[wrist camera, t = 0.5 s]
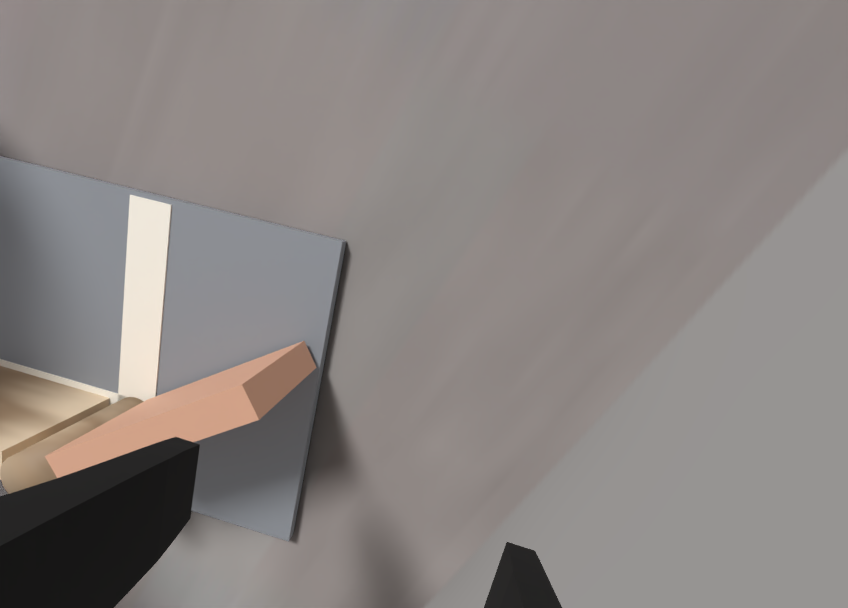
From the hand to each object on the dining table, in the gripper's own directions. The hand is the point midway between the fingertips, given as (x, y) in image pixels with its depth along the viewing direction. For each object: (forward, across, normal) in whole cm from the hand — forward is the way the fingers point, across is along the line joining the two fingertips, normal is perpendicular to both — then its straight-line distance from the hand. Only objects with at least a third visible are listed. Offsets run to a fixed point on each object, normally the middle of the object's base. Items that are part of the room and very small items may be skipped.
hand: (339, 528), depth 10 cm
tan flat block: (+8, +7, +2) cm, 11 cm away
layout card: (+8, +12, +2) cm, 15 cm away
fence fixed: (+8, +15, +5) cm, 18 cm away
